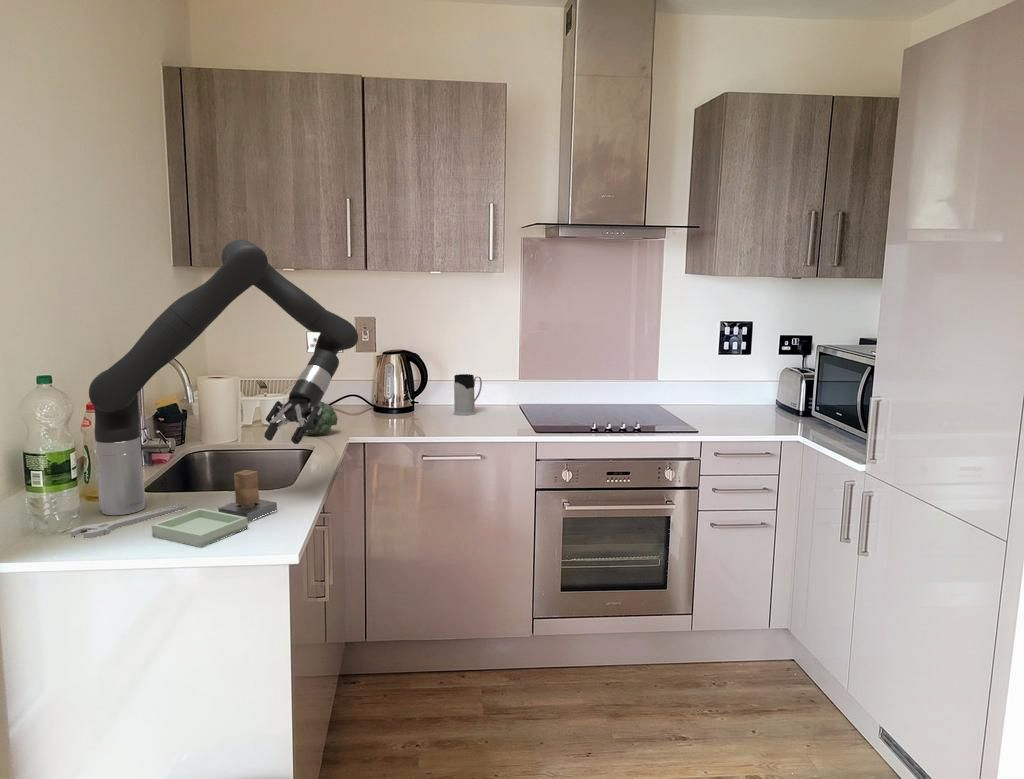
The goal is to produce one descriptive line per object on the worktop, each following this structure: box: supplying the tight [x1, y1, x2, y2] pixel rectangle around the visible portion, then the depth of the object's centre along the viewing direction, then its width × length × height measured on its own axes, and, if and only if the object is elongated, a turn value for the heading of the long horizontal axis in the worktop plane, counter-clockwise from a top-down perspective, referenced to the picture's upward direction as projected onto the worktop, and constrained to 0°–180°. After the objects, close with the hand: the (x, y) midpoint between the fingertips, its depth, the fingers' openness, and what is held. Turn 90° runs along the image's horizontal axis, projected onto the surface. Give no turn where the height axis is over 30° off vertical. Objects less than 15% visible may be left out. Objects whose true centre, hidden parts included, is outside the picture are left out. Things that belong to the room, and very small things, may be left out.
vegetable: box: [304, 400, 339, 436], centre depth 259 cm, size 12×13×15 cm
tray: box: [151, 507, 249, 548], centre depth 162 cm, size 15×13×2 cm
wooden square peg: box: [233, 469, 260, 509], centre depth 174 cm, size 4×4×10 cm
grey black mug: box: [453, 373, 483, 417], centre depth 295 cm, size 9×14×15 cm, turn 140°
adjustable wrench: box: [70, 503, 187, 539], centre depth 169 cm, size 25×6×2 cm, turn 140°
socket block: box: [217, 498, 278, 523], centre depth 174 cm, size 9×9×2 cm
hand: (280, 440), depth 182 cm, fingers open, 8 cm apart
